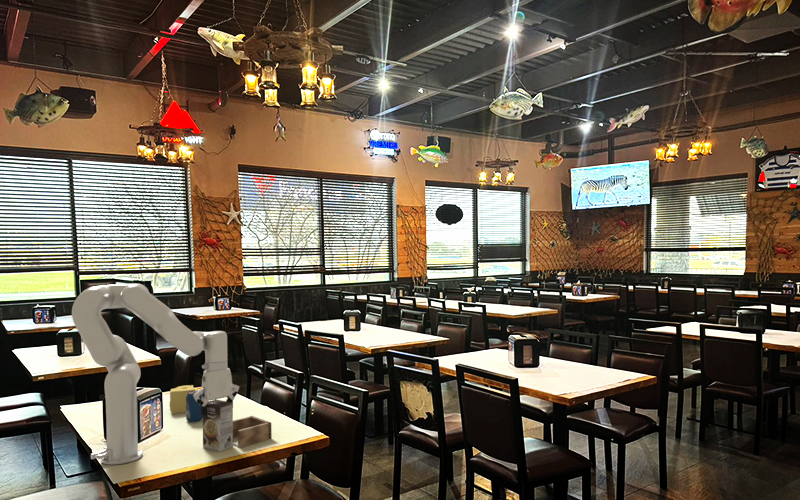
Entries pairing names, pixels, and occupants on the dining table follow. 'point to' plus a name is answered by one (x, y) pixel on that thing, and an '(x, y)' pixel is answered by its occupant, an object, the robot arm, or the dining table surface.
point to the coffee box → (218, 425)
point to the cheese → (179, 398)
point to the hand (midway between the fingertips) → (217, 413)
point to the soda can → (193, 408)
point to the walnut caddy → (251, 431)
